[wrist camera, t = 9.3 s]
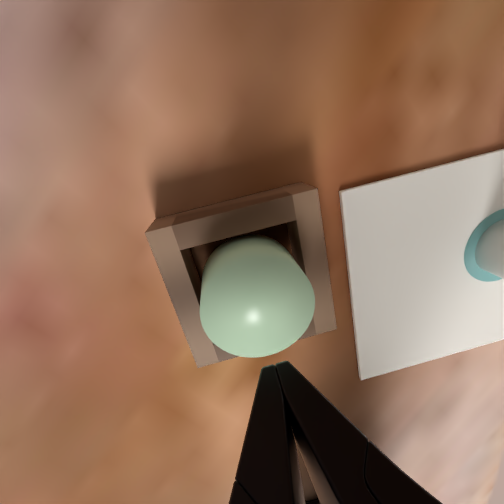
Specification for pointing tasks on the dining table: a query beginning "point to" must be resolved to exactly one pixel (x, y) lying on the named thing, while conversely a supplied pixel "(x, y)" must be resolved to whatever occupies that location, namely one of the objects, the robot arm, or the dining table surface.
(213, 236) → the button housing
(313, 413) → the robot arm
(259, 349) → the button
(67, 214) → the dining table surface
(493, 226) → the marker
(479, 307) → the paper
